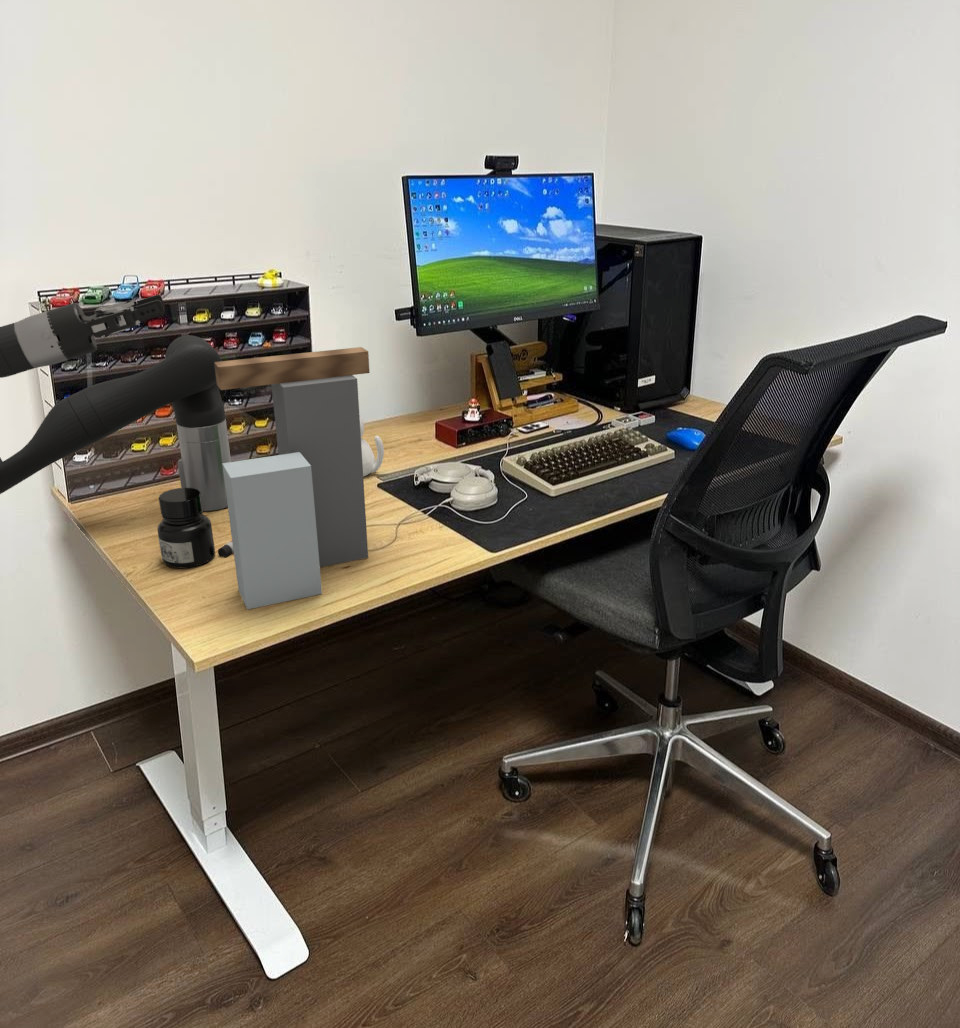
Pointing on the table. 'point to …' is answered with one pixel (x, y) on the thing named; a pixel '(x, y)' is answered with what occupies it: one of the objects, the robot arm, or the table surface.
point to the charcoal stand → (327, 458)
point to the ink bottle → (184, 529)
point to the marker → (226, 550)
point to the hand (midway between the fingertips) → (162, 303)
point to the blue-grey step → (273, 528)
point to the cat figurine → (370, 453)
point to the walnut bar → (291, 368)
